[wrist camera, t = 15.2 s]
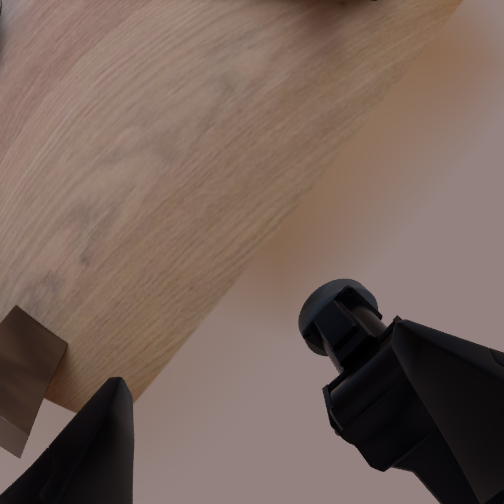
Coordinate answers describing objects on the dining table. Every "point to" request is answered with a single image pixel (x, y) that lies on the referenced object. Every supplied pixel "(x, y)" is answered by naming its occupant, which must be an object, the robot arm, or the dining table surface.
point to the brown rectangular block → (24, 375)
